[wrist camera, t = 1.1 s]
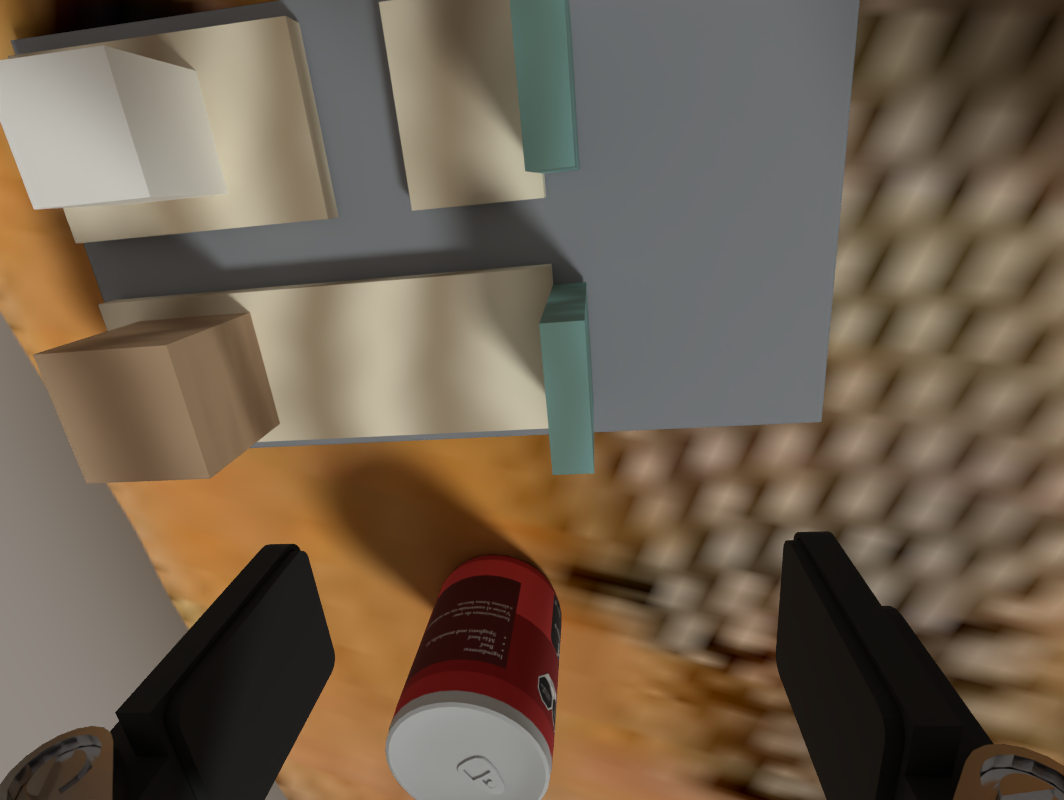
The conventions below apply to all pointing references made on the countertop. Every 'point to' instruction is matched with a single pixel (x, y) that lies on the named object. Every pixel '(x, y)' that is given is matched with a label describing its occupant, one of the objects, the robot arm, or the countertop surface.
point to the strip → (415, 354)
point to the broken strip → (421, 106)
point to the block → (107, 129)
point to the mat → (586, 200)
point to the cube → (161, 397)
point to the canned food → (482, 688)
